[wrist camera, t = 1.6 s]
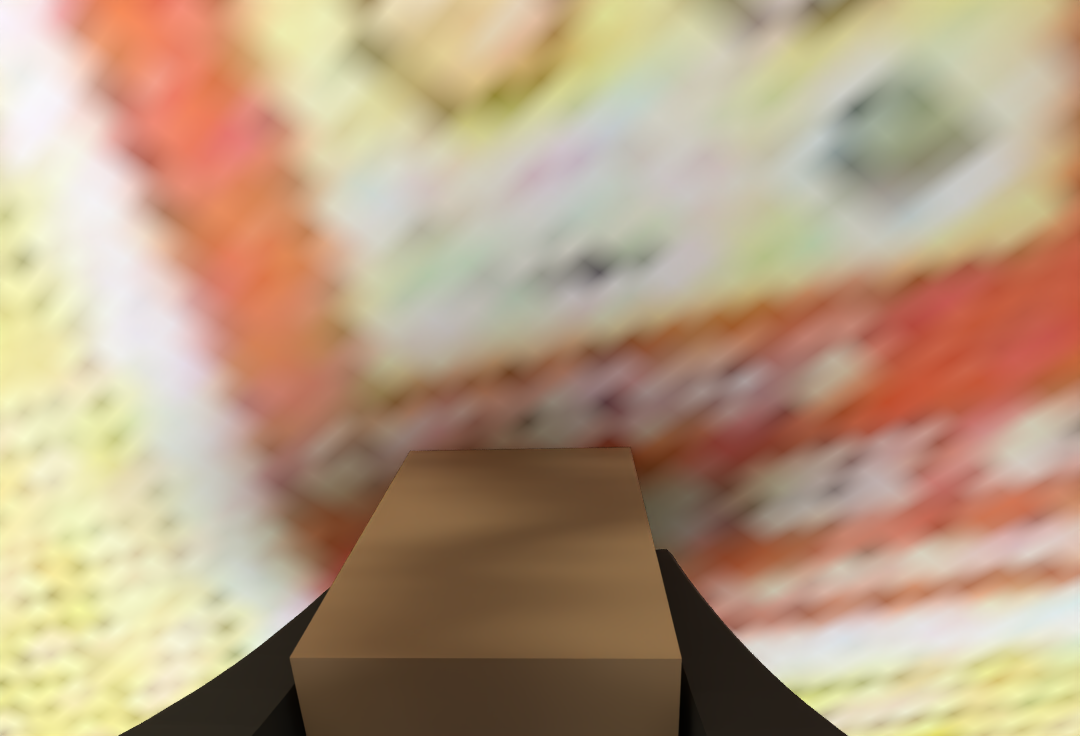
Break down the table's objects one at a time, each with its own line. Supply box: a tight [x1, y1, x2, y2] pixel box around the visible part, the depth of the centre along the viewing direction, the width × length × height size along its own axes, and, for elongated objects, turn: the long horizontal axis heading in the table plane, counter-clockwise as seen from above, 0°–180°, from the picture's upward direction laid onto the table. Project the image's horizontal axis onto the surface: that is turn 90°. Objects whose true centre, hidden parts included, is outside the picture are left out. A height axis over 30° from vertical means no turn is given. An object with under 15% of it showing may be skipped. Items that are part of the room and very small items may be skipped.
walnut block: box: [290, 447, 682, 736], centre depth 11 cm, size 5×5×6 cm
